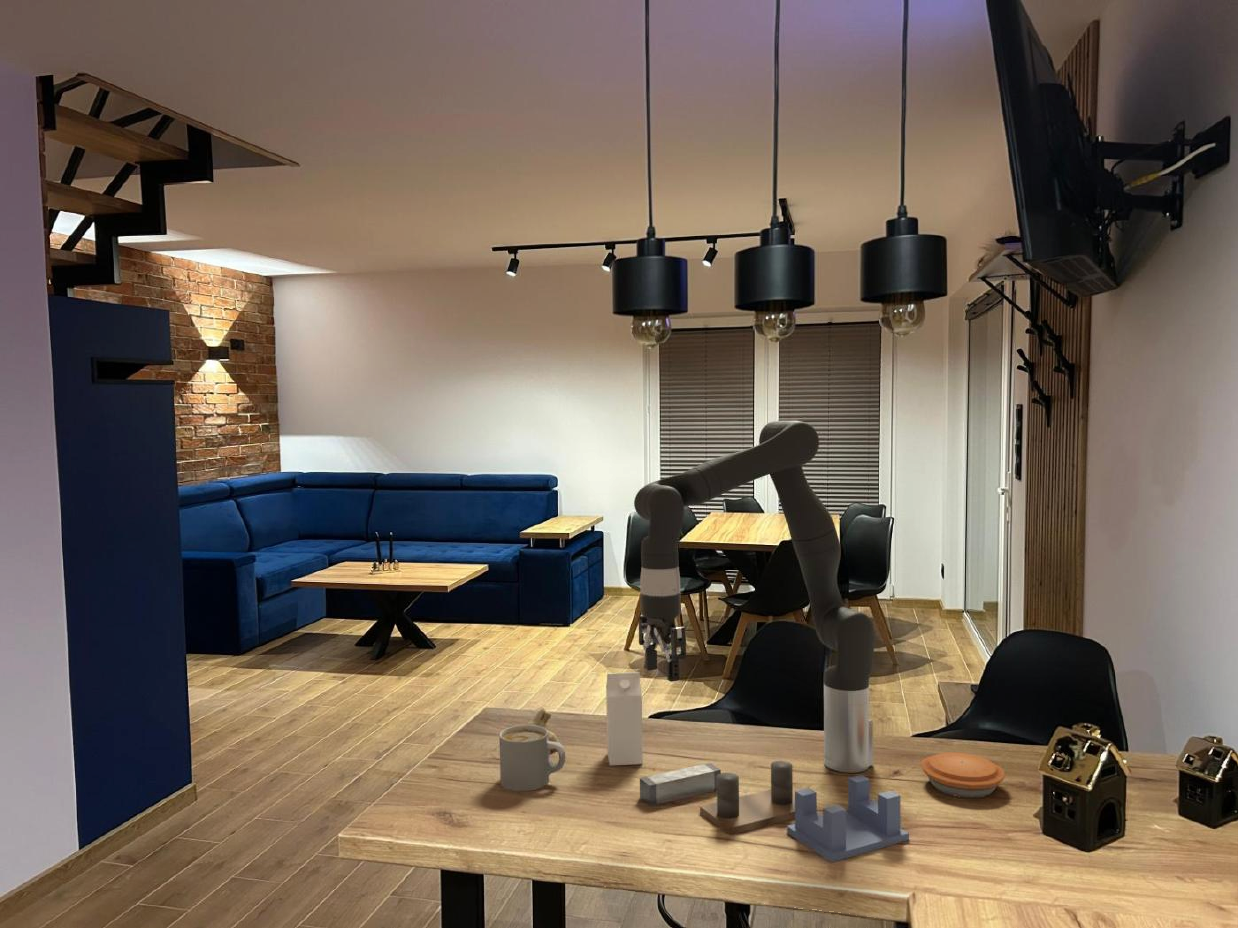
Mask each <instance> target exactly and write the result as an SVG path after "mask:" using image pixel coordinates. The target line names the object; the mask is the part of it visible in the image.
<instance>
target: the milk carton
mask: <svg viewBox="0 0 1238 928" xmlns="http://www.w3.org/2000/svg"><path fill="white" fill-rule="evenodd" d="M605 686H606V687H605V689H606V691H605V692H606V698H605V699H606V742H607V743H606V749H607V751H606V752H607V757H608V763H609V766H628V765H630V766H631V765H643V763H644V761H643V760H644V757H643V755H644V752H643V751H644V750H643V749H644V747H643V700H642V699H643V696H642V694H643V693H642V683H641V673H640V672H639V671H638V672H636V671H633V672H615V673H614V672H613V673H607V674H606V685H605Z"/></svg>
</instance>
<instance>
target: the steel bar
mask: <svg viewBox="0 0 1238 928" xmlns="http://www.w3.org/2000/svg"><path fill="white" fill-rule="evenodd" d="M721 773H722V771H721V769H720V768H719V767H717V766H716V765H714V764H713V763H711V762H707V763H703V764H698V765H694V766H689V767H685V768H681V769H676V770H670V771H666V772H661V773H657V774H652V775H648V776H643V777H639V799H641V800H642V801H643V802H644V803H645V804H646V805H647V806H650V807H651V806H655V805H660V804H664V803H668V802H672V801H677V800H681V799H682V800H683V799H686V798H690V797H694V796H699V795H703V794H708V793H711V792H717V775H719V774H721Z"/></svg>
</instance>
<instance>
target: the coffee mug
mask: <svg viewBox="0 0 1238 928" xmlns="http://www.w3.org/2000/svg"><path fill="white" fill-rule="evenodd" d="M548 731H549V730H548V729H547V728H546V729H545V728H543V727H541V726H536V725H527V724H521V725H512V726H509V727H507V728H504V729H503V730H502V731H500V733H499V771H500V772H499V773H500V777H499V778H500V780H499V781H500V785H501V787H503V788H504V789H506V790H508V791H512V792H513V791H514V792H531V791H535V790H538V789H541V788H543V787H545V786H546V785H548V783H549V782H550V775H551V774H553V773H556V772H558V771H560V770H562V769H563V767H564V765H565V762H566V751H565V748H564V746H563V744H561V743H557V742H551V741H549V740H548ZM551 749H555V750H556V751H555V752H557V753H558V762H557V763H554V762H552V760H551V756H550V755H551V753H550V750H551Z"/></svg>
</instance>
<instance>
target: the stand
mask: <svg viewBox="0 0 1238 928" xmlns="http://www.w3.org/2000/svg"><path fill="white" fill-rule="evenodd" d="M793 774H794V773H793V763H791V762H789V761H786V760H777V761H776V760H775V761H773V762H771V763H770V789H767V790H762V791H758V792H754V793H750V794H747V795H746V794H745V795H741V796H740V780H739V779H740V776H739V775H738V774H736V773H733V772H721V774H719V775H717V791H716V802H712V803H709V804H704V805H700V807H699V813H700V814H702V816H704V817H705V818H707V820H710V822H712V823H713V824H715V825H716V826H717V827H718V826H719V829H721V830H722V831H723V832H725V833H726V834H728V835H729V836H731V835H734V834H739V833H741V832H742V833H743V832H746V831H750V830H753V829H757V828H761V827H765V826H768V825H772V824H776V823H781V822H784V821H785V822H786V821H788V820H793V819H795V795H793V793H794V792H793V791H794V790H793V789H794V788H793V787H794V784H793V783H794V782H793V780H794V779H793Z"/></svg>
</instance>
